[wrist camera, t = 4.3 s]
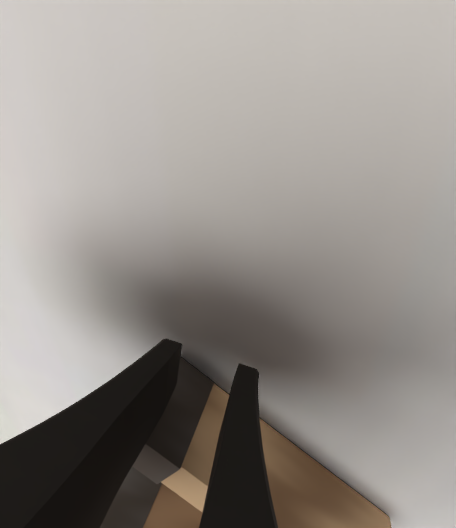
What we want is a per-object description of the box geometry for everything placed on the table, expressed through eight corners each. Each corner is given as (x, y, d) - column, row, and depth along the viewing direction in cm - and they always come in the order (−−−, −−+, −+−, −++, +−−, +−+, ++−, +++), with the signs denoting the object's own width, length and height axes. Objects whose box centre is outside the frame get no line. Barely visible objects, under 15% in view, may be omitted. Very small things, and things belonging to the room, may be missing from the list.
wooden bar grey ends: (390, 516, 13) (415, 642, 10) (360, 524, 14) (375, 643, 10) (178, 355, 12) (130, 432, 9) (160, 373, 13) (111, 451, 10)
